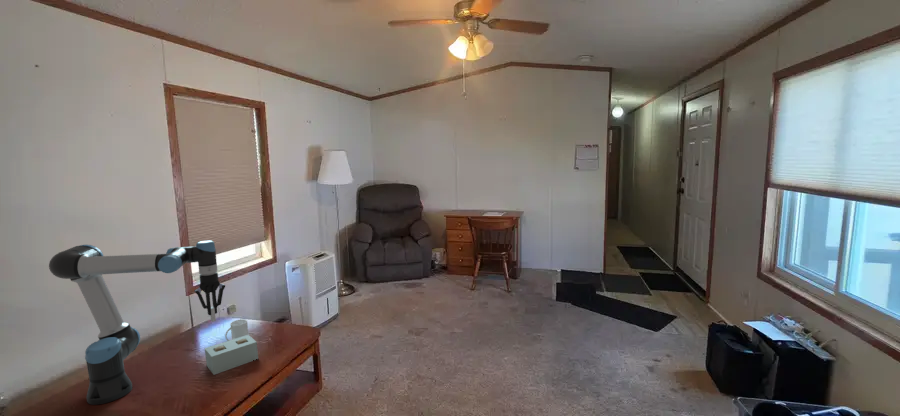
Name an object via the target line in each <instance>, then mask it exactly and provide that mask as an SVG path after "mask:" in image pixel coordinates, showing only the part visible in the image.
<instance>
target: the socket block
mask: <svg viewBox="0 0 900 416" xmlns="http://www.w3.org/2000/svg"><path fill="white" fill-rule="evenodd" d="M241 339H246V342H245V343H242V344H239V345H238V343H237V341H238V340H241ZM229 340H230V341H227V340H226V341H224V342H220V343H216V344H215V345H210V346H208V347H205V348H204V352H205V353H204V354H205V363H206V367H207V368H208V369H209V371H210V372H211V373H212V375H217V374H220V373H223V372H226V371H228V370H232V369H234V368H237V367H239V366H240V367H241V366H242V365H246V364H248V363H250V362H251V363H252V362H254V361H257V360H259V352H258V342H257V341H256V340H255V339H254V338H253V337H252V336H250V334H249V335H246V336H242V337H239V338H236V339H233V340H232V339H229ZM219 346H224V348H225V349H224V350H221V351H218V352H215V348H216V347H219ZM256 359H257V360H256ZM253 360H254V361H253Z"/></svg>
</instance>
